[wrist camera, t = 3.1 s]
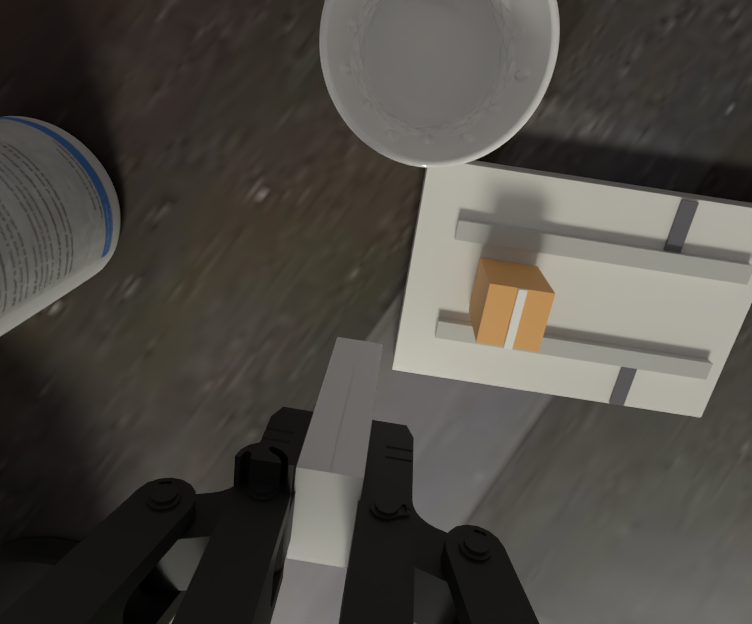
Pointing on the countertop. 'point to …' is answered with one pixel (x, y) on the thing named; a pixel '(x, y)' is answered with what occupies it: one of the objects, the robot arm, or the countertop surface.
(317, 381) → the countertop surface
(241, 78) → the countertop surface
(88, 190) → the supplement tub
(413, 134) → the white cup
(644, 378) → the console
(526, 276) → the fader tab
